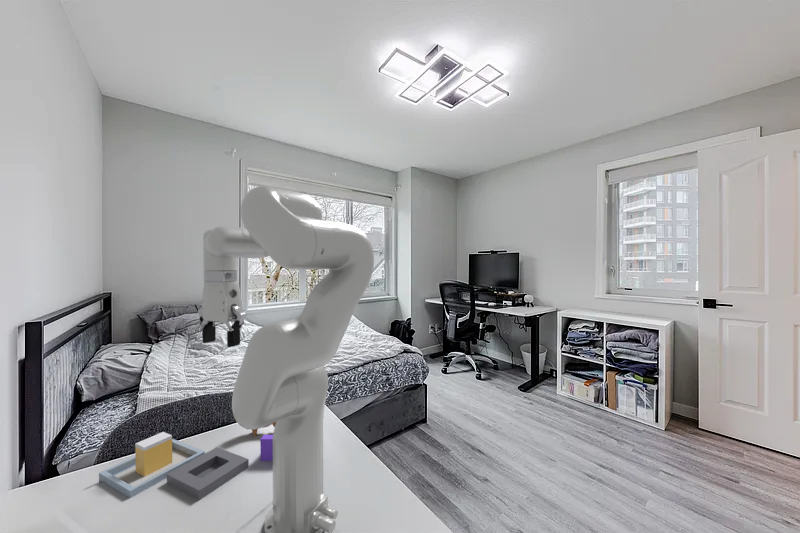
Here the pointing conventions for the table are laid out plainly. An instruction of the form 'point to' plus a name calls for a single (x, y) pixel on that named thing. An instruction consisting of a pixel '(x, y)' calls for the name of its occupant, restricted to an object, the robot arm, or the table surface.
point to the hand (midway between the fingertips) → (221, 343)
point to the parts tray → (131, 491)
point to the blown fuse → (153, 453)
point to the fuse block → (207, 472)
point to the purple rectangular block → (266, 448)
